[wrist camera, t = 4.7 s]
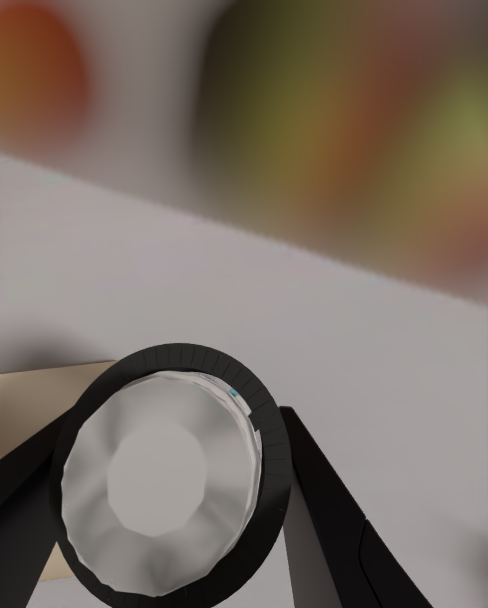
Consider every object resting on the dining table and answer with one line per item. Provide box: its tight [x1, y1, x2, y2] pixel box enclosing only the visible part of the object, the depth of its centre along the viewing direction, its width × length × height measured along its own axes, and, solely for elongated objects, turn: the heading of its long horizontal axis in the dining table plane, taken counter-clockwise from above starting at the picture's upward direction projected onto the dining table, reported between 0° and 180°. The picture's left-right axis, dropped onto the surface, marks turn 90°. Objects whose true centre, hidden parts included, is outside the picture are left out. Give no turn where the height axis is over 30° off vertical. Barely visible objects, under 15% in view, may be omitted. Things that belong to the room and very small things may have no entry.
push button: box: [49, 343, 292, 608], centre depth 10 cm, size 7×5×10 cm
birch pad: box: [0, 361, 118, 582], centre depth 15 cm, size 10×10×1 cm
